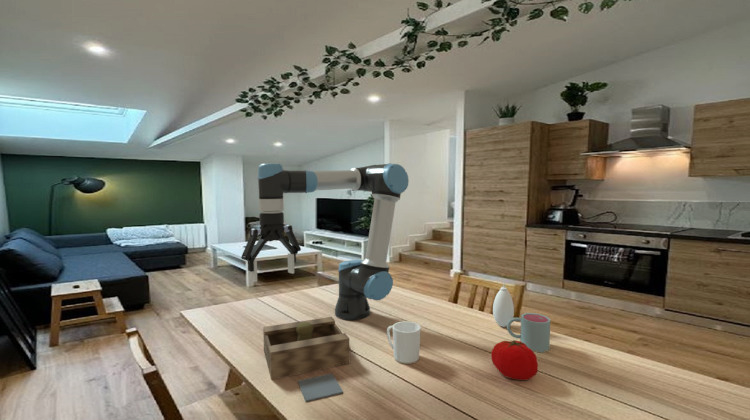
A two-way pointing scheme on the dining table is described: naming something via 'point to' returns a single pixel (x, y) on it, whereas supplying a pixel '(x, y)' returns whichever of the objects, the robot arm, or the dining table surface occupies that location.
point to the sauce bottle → (503, 307)
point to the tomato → (514, 360)
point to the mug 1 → (405, 341)
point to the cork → (304, 331)
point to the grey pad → (319, 387)
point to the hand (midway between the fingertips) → (273, 276)
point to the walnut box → (304, 348)
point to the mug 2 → (533, 331)
